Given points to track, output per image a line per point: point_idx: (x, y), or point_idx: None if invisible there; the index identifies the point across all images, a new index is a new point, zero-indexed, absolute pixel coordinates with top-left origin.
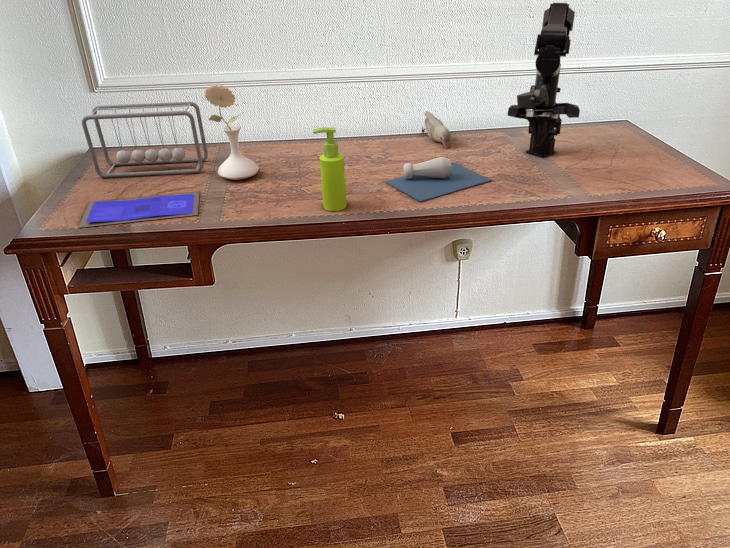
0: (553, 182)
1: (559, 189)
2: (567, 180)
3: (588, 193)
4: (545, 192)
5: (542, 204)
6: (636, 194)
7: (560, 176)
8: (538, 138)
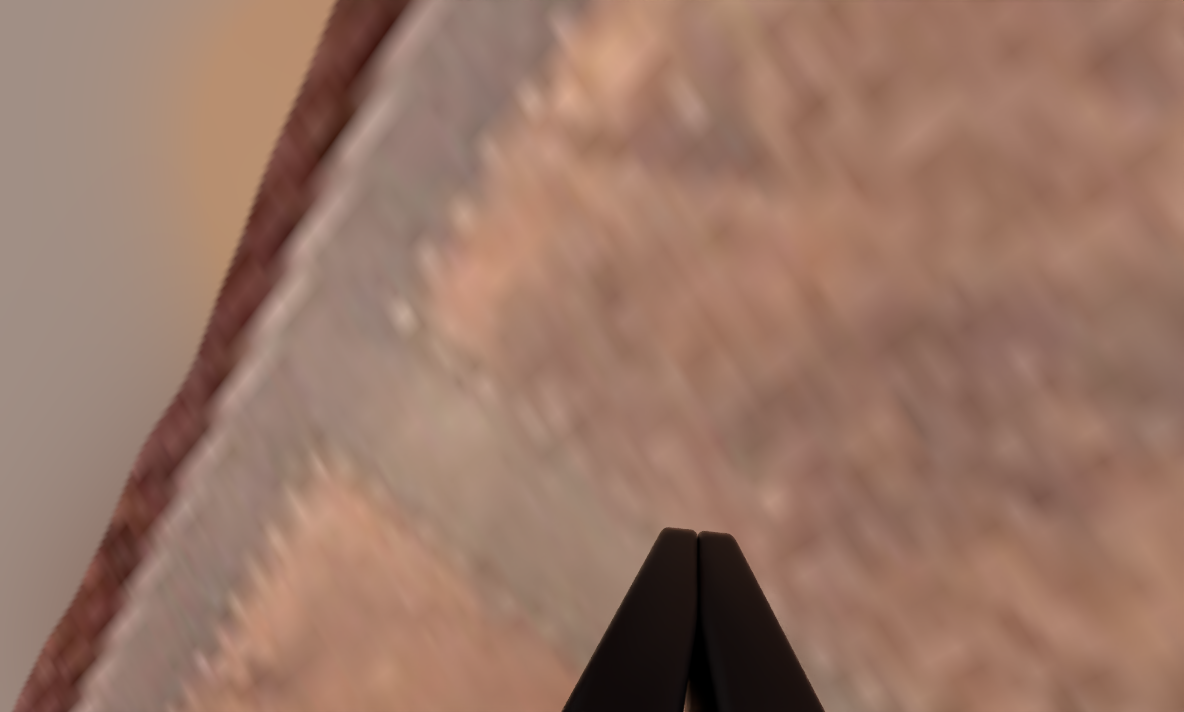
0: None
1: (553, 423)
2: None
3: (358, 487)
4: (603, 279)
5: (463, 6)
6: (174, 646)
7: None
8: (635, 625)
